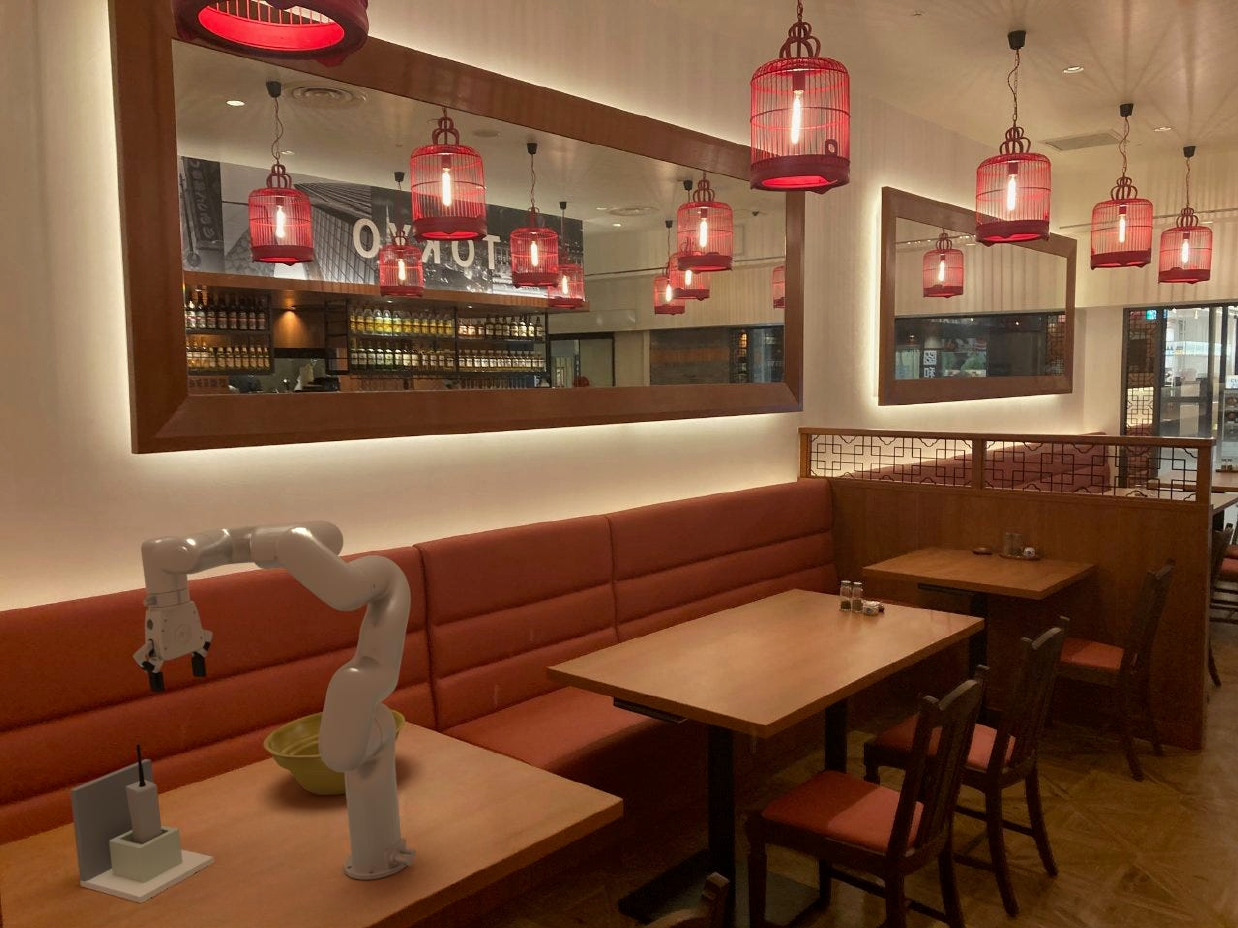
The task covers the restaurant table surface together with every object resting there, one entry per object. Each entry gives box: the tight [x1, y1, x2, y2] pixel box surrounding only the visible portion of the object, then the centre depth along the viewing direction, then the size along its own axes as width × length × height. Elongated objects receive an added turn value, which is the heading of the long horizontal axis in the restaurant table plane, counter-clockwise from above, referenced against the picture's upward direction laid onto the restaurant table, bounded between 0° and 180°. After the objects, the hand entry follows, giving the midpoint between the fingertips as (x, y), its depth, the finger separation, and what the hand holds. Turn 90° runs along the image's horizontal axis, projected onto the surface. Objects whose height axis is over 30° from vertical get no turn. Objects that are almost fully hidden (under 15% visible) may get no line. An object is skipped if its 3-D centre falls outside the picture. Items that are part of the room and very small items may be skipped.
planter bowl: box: [263, 708, 406, 796], centre depth 222 cm, size 32×32×13 cm
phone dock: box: [69, 758, 215, 904], centre depth 182 cm, size 18×16×19 cm
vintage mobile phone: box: [126, 743, 162, 844], centre depth 182 cm, size 4×5×25 cm
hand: (179, 683), depth 185 cm, fingers open, 9 cm apart
